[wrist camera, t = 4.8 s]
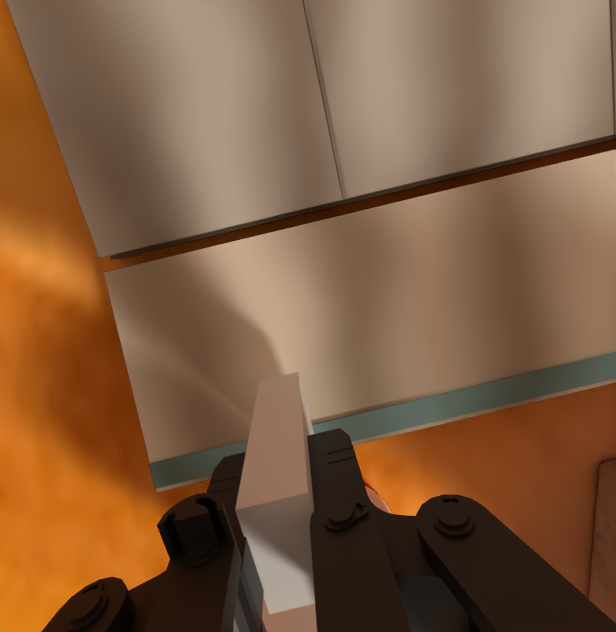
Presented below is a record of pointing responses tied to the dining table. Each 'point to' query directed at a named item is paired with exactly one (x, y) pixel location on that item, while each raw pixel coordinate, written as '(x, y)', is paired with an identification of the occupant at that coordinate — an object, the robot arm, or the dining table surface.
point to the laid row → (303, 101)
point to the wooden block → (605, 543)
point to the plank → (378, 315)
